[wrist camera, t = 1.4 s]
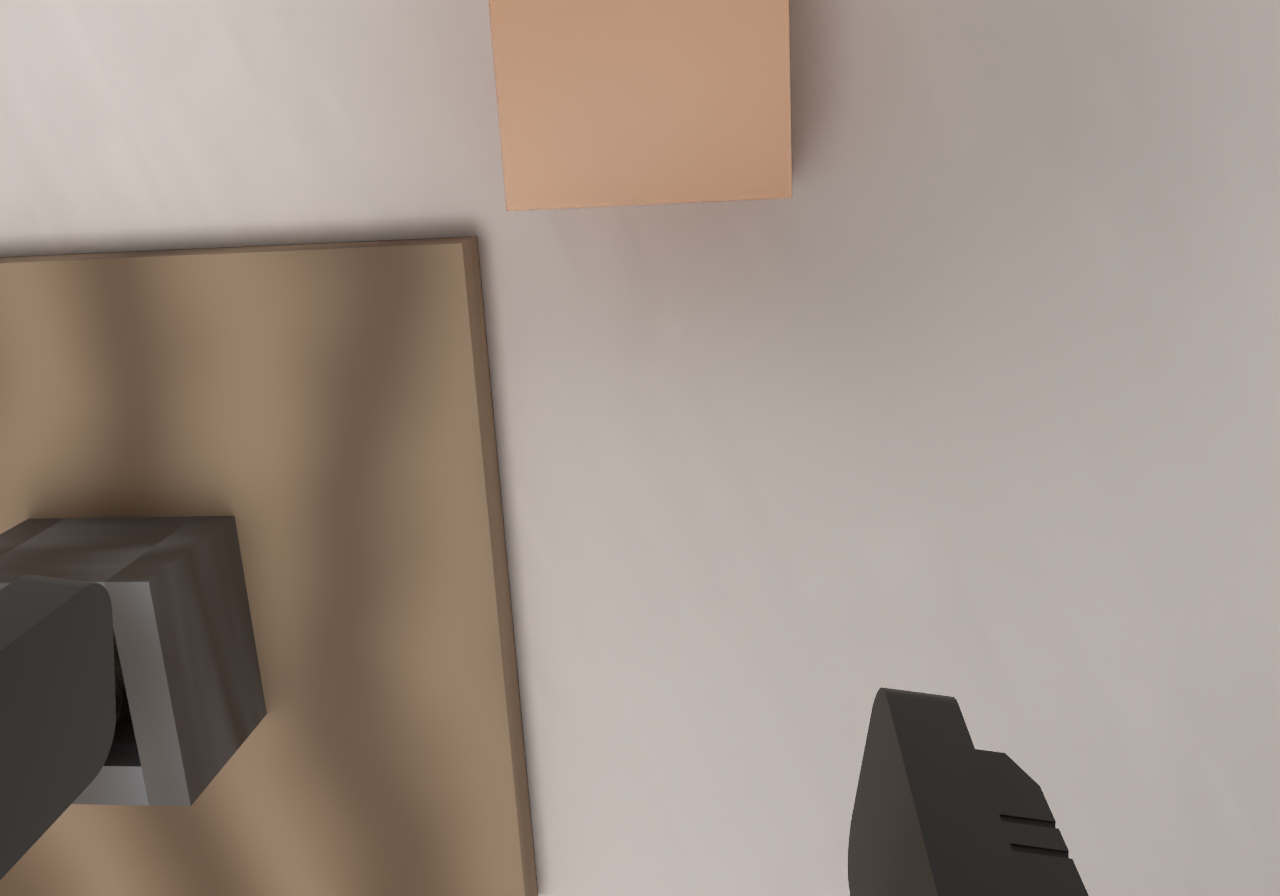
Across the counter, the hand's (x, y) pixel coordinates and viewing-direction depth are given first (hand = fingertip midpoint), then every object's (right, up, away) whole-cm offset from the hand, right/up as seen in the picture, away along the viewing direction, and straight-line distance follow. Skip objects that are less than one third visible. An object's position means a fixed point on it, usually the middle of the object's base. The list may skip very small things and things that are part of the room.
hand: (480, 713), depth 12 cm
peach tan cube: (+2, +12, +16) cm, 20 cm away
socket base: (-12, -2, +22) cm, 25 cm away
